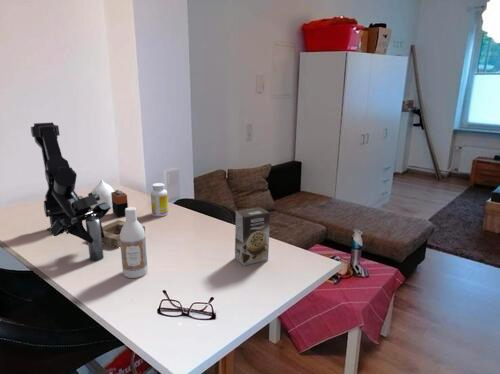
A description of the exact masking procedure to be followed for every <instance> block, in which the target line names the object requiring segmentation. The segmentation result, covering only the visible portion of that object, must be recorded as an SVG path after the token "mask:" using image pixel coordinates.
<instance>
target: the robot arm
mask: <svg viewBox="0 0 500 374" xmlns="http://www.w3.org/2000/svg"><path fill="white" fill-rule="evenodd" d="M30 134H31V136H32V138H34V142H35V144H36V145H37V146H38V147H39V148H40V149H41V155H42V160H43V166H44V176H45V180H46V182H47V191H46V193H45V196H44V199H45V200H43V209H44V215H45V217H46V218H49V223H50V227H48V228H47V231H50V232H51V234H52V236H53V237H57V236H59V235H63V234H64V232H65V231H66V232H65V233H66V235H69V234H70V235H72V236H75V237H77V238H80V239H81V240H83V241H85V242H87V243H88V242H89V243H93V240H92V238H91V237H90V235H89V234H88V232H87V230H86V229H85V227H84V224H83V221H85V220H86V219H88V218H92V217H97V218H99V219H100V228H101V237H102V238H104V232H103V228H102V227H103V225H102V218H103V217H105V216H106V215H107V213H108V212H109V211H110V210H111V209H112V208H111V207H110V206H109V204H108V203H105V202H104V203H101V204H98V203H97V201H99V200H100V197H99V195H98V194H97V192H96V191H94V192H92V191H91V192H89V193H88V194H87V196H85V197H83V195H78V194H77V193H76V191H75V189H76V188H75V187H76V182H77V181H76V180H77V178H78V177H77V175H78V174H77V172H75V170H74V169H73V167H72V166H71V167H70V164H69V161H68V160H66V158H65V157H63V155H62V150H61V148H60V145H59V140H58V136H59V137H60V135H61V134H60V127H59V125H57V124H54V122H53V121H52V122H36V123H35V122H34V123H33V126H30ZM96 204H98V205H96ZM92 205H96V206H95V208H92V207H91V206H92ZM90 210H91V211H90Z"/></svg>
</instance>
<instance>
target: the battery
mask: <svg viewBox="0 0 500 374" xmlns="http://www.w3.org/2000/svg"><path fill="white" fill-rule="evenodd" d="M114 191H115V192H112V193H111V197H112V213H113V215H115V216H116V217H117V218H123V217H126V215H125V209H126V208H128V207H129V203H128V194H127V193H125V192H123V191H122V190H120V189H116V190H114Z"/></svg>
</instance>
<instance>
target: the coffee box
mask: <svg viewBox="0 0 500 374" xmlns="http://www.w3.org/2000/svg"><path fill="white" fill-rule="evenodd" d="M270 218H271V212H269V211H268V210H266V209H264V208H263V207H261V206H260V207H251V208H245V209H241V210H235V234H234V235H235V236H234V237H235V239H234V240H235V241H234V258H235V259H236V260H237V262H239V263H240V264H241V265H242V267H243V266H244V267H245V266H249V265H252V264H256V263H261V262H266V261H269V248H270V245H269V244H270V222H271V219H270Z"/></svg>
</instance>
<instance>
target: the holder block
mask: <svg viewBox="0 0 500 374" xmlns="http://www.w3.org/2000/svg"><path fill="white" fill-rule="evenodd" d="M125 222H126V221H123V220H119V219H117V220H115V221H112V222H110V223H108V224H105V225H104V226H103V225H102V228H103V232H104V238H102V243H104V244H103V245H106V244H107V245H106V246H109V245H111V246H110V247H113V246H114V247H113V248H116V247H117V249H120V248H121V245H120V232H121V229H122V227H123V225H124V224H125ZM142 227H143V229H144V231H145V232H146V227H145V226H144V225H142ZM117 233H119V234H117ZM119 247H120V248H119Z"/></svg>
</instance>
